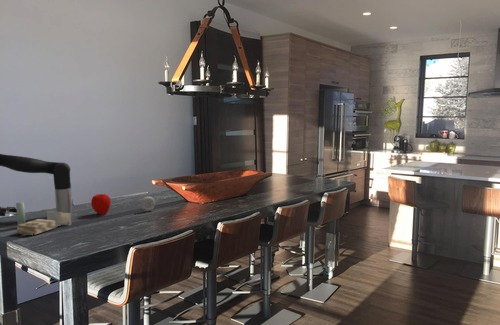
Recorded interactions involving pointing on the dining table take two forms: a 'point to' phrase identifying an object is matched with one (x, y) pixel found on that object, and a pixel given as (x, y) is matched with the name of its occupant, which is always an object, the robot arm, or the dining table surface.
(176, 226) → the dining table surface
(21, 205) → the dowel
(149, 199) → the donut
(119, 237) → the dining table surface
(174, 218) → the dining table surface
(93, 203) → the apple
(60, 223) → the rail base
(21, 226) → the socket block
